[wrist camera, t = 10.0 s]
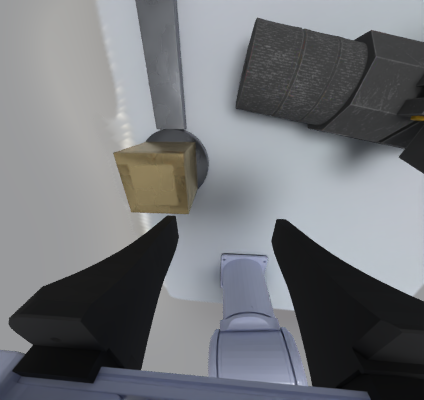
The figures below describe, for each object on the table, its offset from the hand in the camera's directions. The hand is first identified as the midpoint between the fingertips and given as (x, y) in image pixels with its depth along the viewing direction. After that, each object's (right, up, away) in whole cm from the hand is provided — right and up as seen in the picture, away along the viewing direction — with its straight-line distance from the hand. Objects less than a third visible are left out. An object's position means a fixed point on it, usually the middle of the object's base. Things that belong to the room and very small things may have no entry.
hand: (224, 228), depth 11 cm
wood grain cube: (-6, +6, +7) cm, 11 cm away
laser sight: (+13, +12, +5) cm, 18 cm away
